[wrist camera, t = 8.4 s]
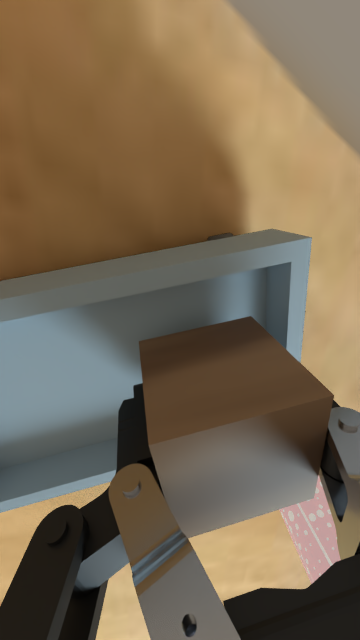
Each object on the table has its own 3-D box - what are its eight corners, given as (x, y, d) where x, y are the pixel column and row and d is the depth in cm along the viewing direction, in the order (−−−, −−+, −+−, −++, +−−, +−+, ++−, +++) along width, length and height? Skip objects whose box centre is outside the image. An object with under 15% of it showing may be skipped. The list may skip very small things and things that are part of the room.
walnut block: (138, 341, 11) (148, 445, 6) (251, 315, 11) (334, 395, 7) (159, 423, 13) (178, 541, 8) (251, 398, 13) (314, 498, 9)
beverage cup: (277, 495, 27) (408, 752, 14) (246, 476, 24) (374, 771, 12) (325, 463, 26) (510, 708, 13) (298, 439, 23) (498, 719, 11)
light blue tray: (7, 446, 17) (-28, 522, 13) (-103, 291, 12) (-217, 339, 8) (258, 381, 19) (294, 430, 15) (258, 223, 14) (312, 234, 10)
